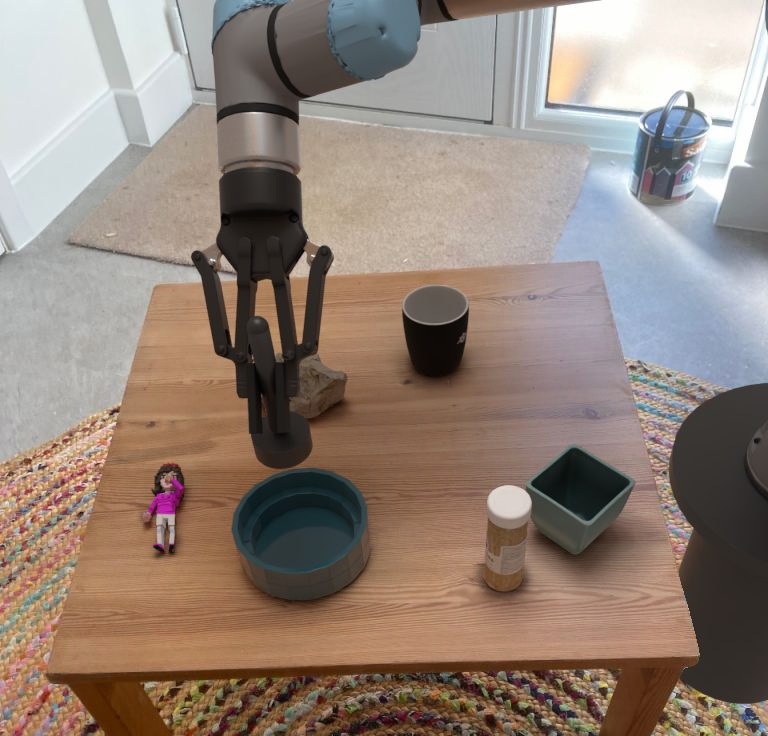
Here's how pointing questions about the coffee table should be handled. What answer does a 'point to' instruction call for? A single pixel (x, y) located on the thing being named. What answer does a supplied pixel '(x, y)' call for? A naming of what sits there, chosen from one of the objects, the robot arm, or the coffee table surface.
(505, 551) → the spice jar
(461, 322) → the mug
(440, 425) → the coffee table surface
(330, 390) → the rock
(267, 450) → the peg on disc base
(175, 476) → the character figurine
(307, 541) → the bowl
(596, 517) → the flower pot
